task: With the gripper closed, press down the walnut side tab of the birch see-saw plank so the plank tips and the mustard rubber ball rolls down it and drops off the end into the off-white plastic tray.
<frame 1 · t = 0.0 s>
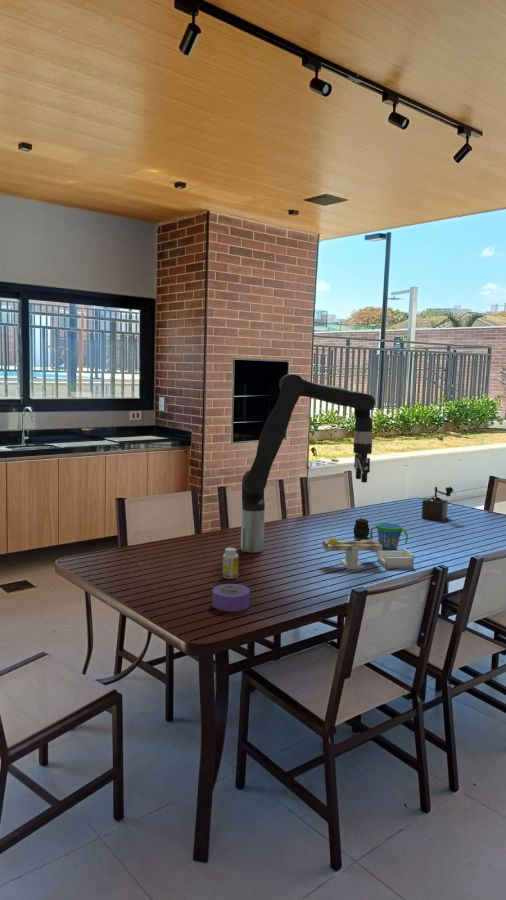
hand: (361, 480, 269), 29 cm above the table, tool pointing down, fingers open, 8 cm apart
supplement bottle: (230, 577, 231), on the table
mate gourd: (361, 537, 293), on the table
stand: (351, 564, 250), on the table
tray: (395, 564, 252), on the table
ball: (333, 545, 248), point 8 cm above the table, touching lever
snack cup: (388, 549, 274), on the table
tape roll: (231, 605, 204), on the table
lever: (350, 543, 252), point 8 cm above the table, hinge at 0.0°, touching ball
brown manual coffee grinder: (438, 519, 336), on the table
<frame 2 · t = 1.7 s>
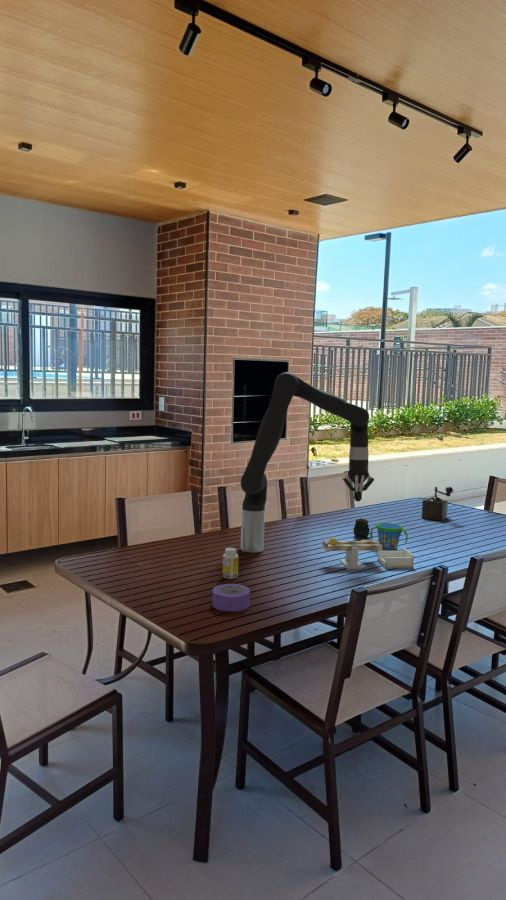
hand: (357, 500, 258), 23 cm above the table, tool pointing down, fingers closed
nothing on the table moved.
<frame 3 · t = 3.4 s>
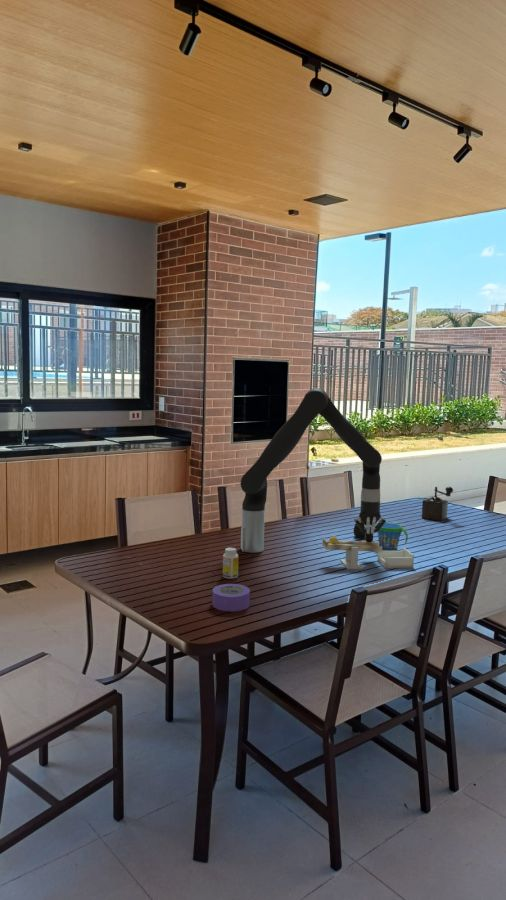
hand: (368, 542, 256), 7 cm above the table, tool pointing down, fingers closed
ball: (333, 544, 248), point 8 cm above the table
lever: (350, 543, 252), point 8 cm above the table, hinge at 2.9°, touching gripper
everything else where it was.
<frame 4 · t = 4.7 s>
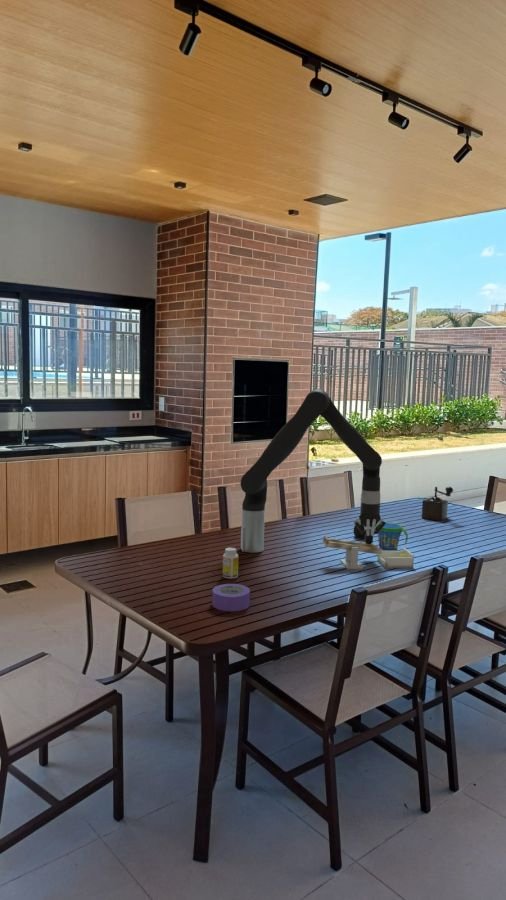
hand: (368, 544, 256), 6 cm above the table, tool pointing down, fingers closed
ball: (406, 560, 252), point 2 cm above the table, tilted 59°, touching tray
lever: (350, 543, 252), point 8 cm above the table, hinge at 8.5°, touching gripper
everything else where it was.
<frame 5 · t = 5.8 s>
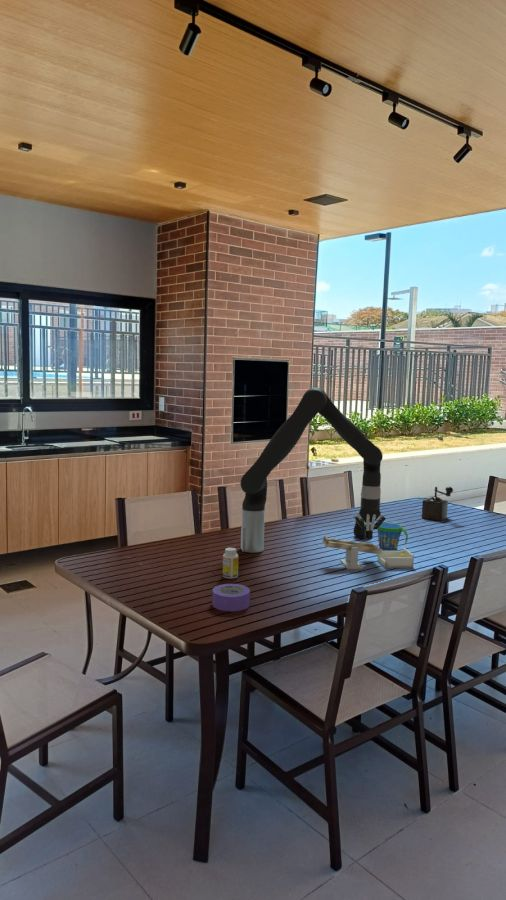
hand: (368, 539, 256), 8 cm above the table, tool pointing down, fingers closed
ball: (406, 559, 252), point 2 cm above the table, tilted 64°, touching tray
lever: (350, 543, 252), point 8 cm above the table, hinge at 8.5°
everything else where it was.
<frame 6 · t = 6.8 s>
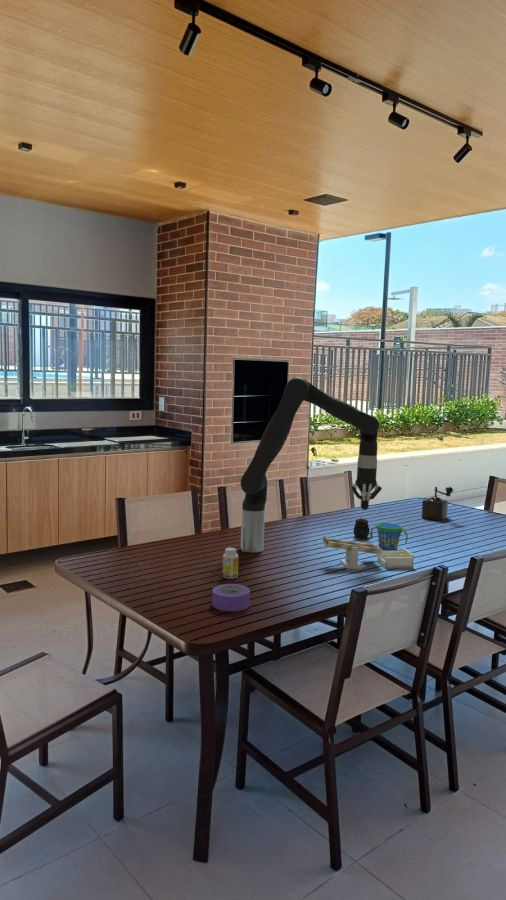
hand: (364, 509, 256), 20 cm above the table, tool pointing down, fingers closed
nothing on the table moved.
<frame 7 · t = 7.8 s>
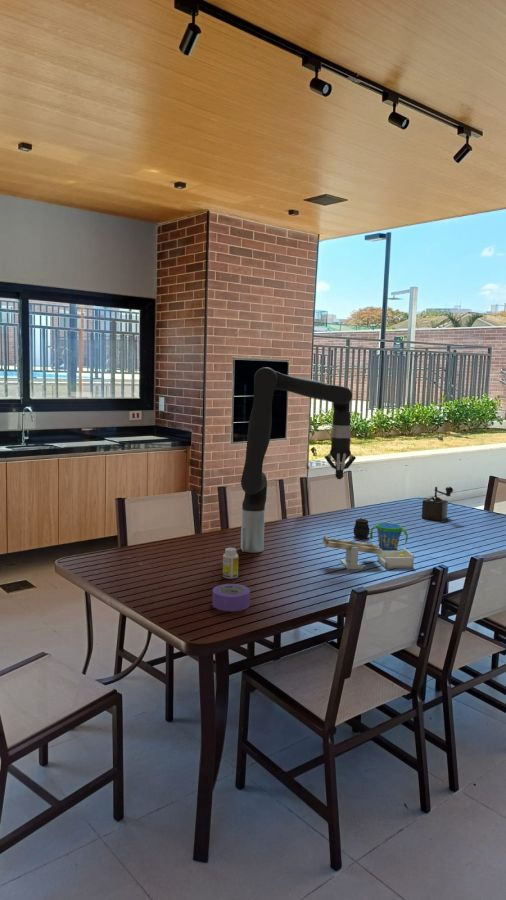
hand: (339, 478, 262), 31 cm above the table, tool pointing down, fingers closed
nothing on the table moved.
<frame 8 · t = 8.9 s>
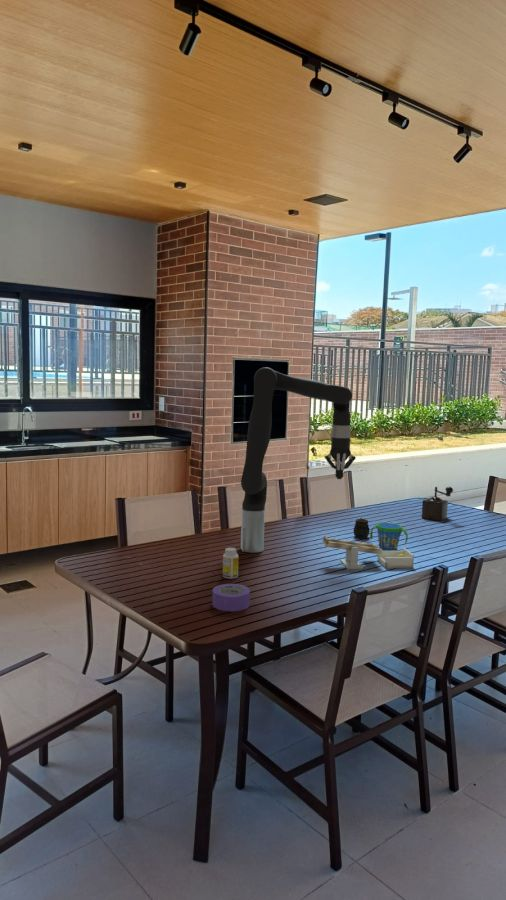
hand: (339, 478, 262), 31 cm above the table, tool pointing down, fingers closed
ball: (405, 558, 252), point 2 cm above the table, tilted 78°, touching tray
everything else where it was.
at the end: ball inside the target area on the tray (4.1 cm from its centre), point 2.1 cm above the tray's base; lever at +8° (first picture: +0°) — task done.
